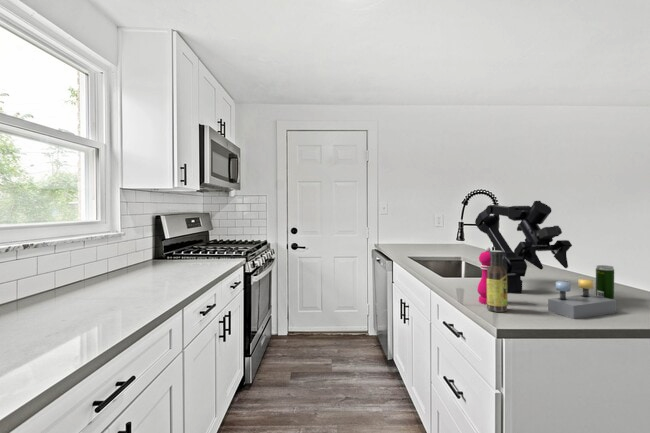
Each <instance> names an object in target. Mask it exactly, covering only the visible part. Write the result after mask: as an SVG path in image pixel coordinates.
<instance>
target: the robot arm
mask: <svg viewBox="0 0 650 433" xmlns="http://www.w3.org/2000/svg"><path fill="white" fill-rule="evenodd" d="M532 203H533V204H532V205H531V206H530V205H512V206H505V205H499V204H489V205H487V206H486V208H485V209H484V210H482V211H481V212H480V213H478V215H477V216H476V218H475V219H474V220H475V221H474V222H475V225H476V228H477V229H479V231H480V232H482V233H484V234H486V235H487V237H488V239H489V240H490V242H491V244H492V245H493V247H494V248H495V250H496V251H503V266H504V268H505V270H506V272H507V294H508V293H511V294H522V291H523V280H522V278H523V277H526V273H527V268H528V264H527V262H529V263H530V264H531V265H533V266H534V267H536V268H537V269H539V270H541V271H542V270H543V269H544V266H543V264H542V261H541V260H540V257H538V254H537V252H551V254H552V255H553V258H554V259H555V260H557V262H558V263H559V264H560V265H561V266H562V267H563V268H564V269H568V268H569V263H568V258H567V252H568V251H569V249H570V248H571V247H572V246H573V245H572V243H571V241H570V240H569V239H568V240H567V239H558V240H556V242H554V243H553V244H551V243H552V242H553V241H554V240H553V239H554V238H555V237H560V235H562V233H563V231H562V228H561V227H560V226H559V225H553V226H545V227H542V228H541V227H540V225H542V224H543V223H544V222H545V221H546V220H547V218H548V217H549V215H550V214H551V213H552V208H551V207H550V206H549V205H547V204H546V203H544V202H542V201H541V200H533V202H532ZM500 216H502V217H507V218H508V219H509V220H511V221H513V222H517V221H518V222H519V221H520V223H518V225H517V227H516V231H518V232H522V234H523V235H524V237H525V239H524V241H520V242H519V243H518V244H517V246H515V248H514V249H513V250H514V251H513V250H512V248H511V247H510V245H509V243H508V242H507V241H506V239H505V238H504V236H503V235H502V233H501V232H500V230H499V229H498V228H499V226H498V225H499V221H500V219H501V218H500ZM521 277H522V278H521Z"/></svg>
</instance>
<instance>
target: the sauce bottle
mask: <svg viewBox="0 0 650 433" xmlns="http://www.w3.org/2000/svg"><path fill="white" fill-rule="evenodd" d="M490 256H491V262H490V263H491V265H490V267H489V268H488V270H487V304H486V309H487V310H488V311H489V312H496V313H503V312H506V311H507V310H508V293H507V272H506V270H505V268H504V266H503V251H497V250H496V249H495V250H490Z"/></svg>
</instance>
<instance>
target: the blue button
mask: <svg viewBox="0 0 650 433" xmlns="http://www.w3.org/2000/svg"><path fill="white" fill-rule="evenodd" d="M555 290H556V291H558V292H559V298H560V300H566V297H567V292H571V282H568V281H561V280H560V281H559V280H558V281H555Z"/></svg>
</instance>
